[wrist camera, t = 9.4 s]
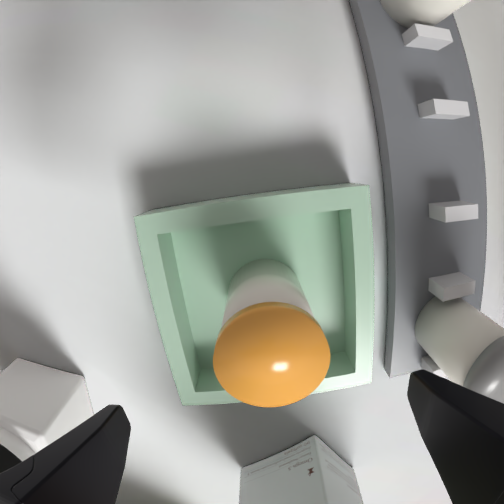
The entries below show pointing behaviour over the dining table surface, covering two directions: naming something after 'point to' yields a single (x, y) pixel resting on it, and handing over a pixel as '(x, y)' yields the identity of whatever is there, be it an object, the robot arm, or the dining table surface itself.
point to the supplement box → (300, 477)
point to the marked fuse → (269, 338)
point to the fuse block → (431, 193)
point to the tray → (253, 248)
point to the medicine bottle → (38, 408)
